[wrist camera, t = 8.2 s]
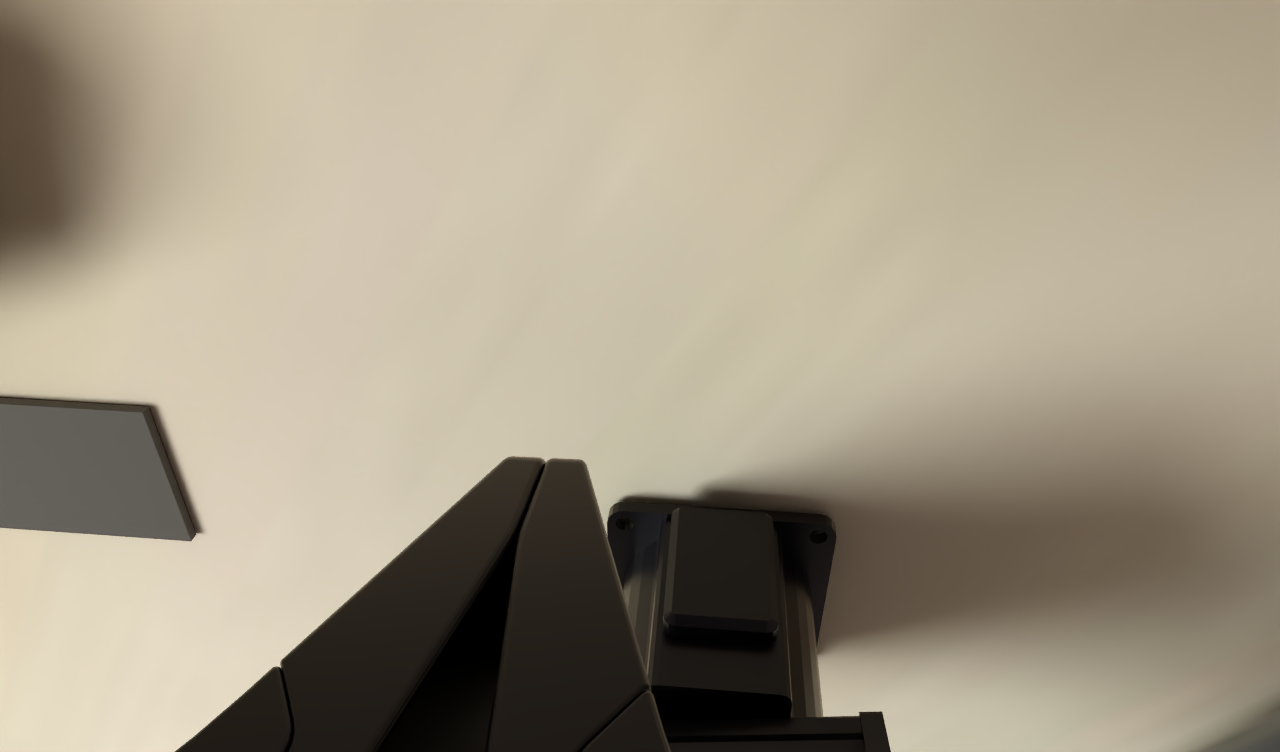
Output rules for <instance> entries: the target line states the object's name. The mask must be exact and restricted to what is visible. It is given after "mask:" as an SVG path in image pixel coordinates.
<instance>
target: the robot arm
mask: <svg viewBox="0 0 1280 752" xmlns="http://www.w3.org/2000/svg"><path fill="white" fill-rule="evenodd" d="M623 517H625V518H629V519H630V520H631V521H623V520H621V519H620V518H623ZM818 530H820V531H824V532H822V533H819V534H815V533H812V532H814V531H818ZM607 534H608V538H607ZM607 534H606V531H605V527H604V524H603V520H602V517H601V513H600V510H599V507H598V503H597V500H596V496H595V493H594V489H593V486H592V482H591V479H590V476H589V472H588V469H587V465H586V463H585V462H584V461H583V460H579V459H558V458H552V459H550V460H548V461H547V462H545V461H544V460H543V459H542V458H536V457H515V456H513V457H508V458H506V459H504V460H503V461H502V462H501V463H500V464H499V465H497V466H496V467H495V468H494V469H493V470H492V471H491V472H490V473H489V474H487V475H486V476H485V477H484V478H483V479H482V480H481V481H480V482H479V483H477V484H476V485H475V486H474V487H473V488H472V489H471V490H470V491H469V492H468V493H466V494H465V495H464V496H463V497H462V498H461V499H460V500H459V501H458V502H456V503H455V504H454V505H453V506H452V507H451V508H450V509H449V510H448V511H446V512H445V513H444V514H443V515H442V516H441V517H440V518H439V519H438V520H436V521H435V522H434V523H433V524H432V525H431V526H430V527H429V528H428V529H426V530H425V531H424V532H423V533H422V534H421V535H420V536H419V537H418V538H416V539H415V540H414V541H413V542H412V543H411V544H410V545H409V546H408V547H407V548H405V549H404V550H403V551H402V552H401V553H400V554H399V555H398V556H397V557H395V558H394V559H393V560H392V561H391V562H390V563H389V564H388V565H387V566H385V567H384V568H383V569H382V570H381V571H380V572H379V573H378V574H377V575H375V576H374V577H373V578H372V579H371V580H370V581H369V582H368V583H367V584H365V585H364V586H363V587H362V588H361V589H360V590H359V591H358V592H357V593H356V594H354V595H353V596H352V597H351V598H350V599H349V600H348V601H347V602H346V603H344V604H343V605H342V606H341V607H340V608H339V609H338V610H337V611H336V612H334V613H333V614H332V615H331V616H330V617H329V618H328V619H327V620H326V621H324V622H323V623H322V624H321V625H320V626H319V627H318V628H317V629H316V630H314V631H313V632H312V633H311V634H310V635H309V636H308V637H307V638H306V639H304V640H303V641H302V642H301V643H300V644H299V645H298V646H297V647H296V648H295V649H293V650H292V651H291V652H290V653H289V654H288V655H287V656H286V657H285V658H283V659H282V660H281V663H280V665H281V668H280V667H273V668H272V669H271V670H270V671H269V672H267V673H266V674H265V675H264V676H263V677H262V678H261V679H260V680H259V681H257V682H256V683H255V684H254V685H253V686H252V687H251V688H250V689H249V690H247V691H246V692H245V693H244V694H243V695H242V696H241V697H239V698H238V699H237V700H236V701H235V702H234V703H233V704H231V705H230V706H229V707H228V708H227V709H226V710H224V711H223V712H222V713H221V714H220V715H219V716H217V717H216V718H215V719H214V720H213V721H212V722H210V723H209V724H208V725H207V726H206V727H205V728H203V729H202V730H201V731H200V732H199V733H198V734H197V735H195V736H194V737H193V738H192V739H190V740H189V741H188V742H186V743H185V744H184V745H183V746H181V747H180V748H179V749H178V750H176V751H175V752H891V751H890V746H889V741H888V737H887V732H886V728H885V723H884V718H883V714H882V712H859V716H840V717H823V709H822V699H821V689H820V679H819V668H818V658H817V642H818V637H819V631H820V626H821V620H822V614H823V609H824V603H825V598H826V592H827V587H828V581H829V576H830V570H831V564H832V559H833V553H834V548H835V542H836V531H835V524H834V522H833V521H832V519H831V518H829V517H827V516H825V515H821V514H809V513H793V512H778V511H763V510H747V509H732V508H716V507H701V506H686V505H670V504H655V503H640V502H619V503H616V504H614V505H613V506H612V507H611V508H610V511H609V516H608V522H607Z"/></svg>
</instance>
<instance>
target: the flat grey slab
mask: <svg viewBox="0 0 1280 752" xmlns="http://www.w3.org/2000/svg"><path fill="white" fill-rule="evenodd" d="M0 528H12V529H26V530H40V531H55V532H69V533H83V534H97V535H111V536H125V537H139V538H153V539H168V540H182V541H192V539H193V538H194V537H195V535H196V533H195V530H194V528H193V525H192V522H191V520H190V517H189V514H188V512H187V509H186V506H185V503H184V501H183V498H182V495H181V493H180V490H179V487H178V485H177V482H176V479H175V477H174V474H173V471H172V469H171V466H170V463H169V461H168V458H167V455H166V453H165V450H164V447H163V445H162V442H161V439H160V437H159V434H158V431H157V429H156V426H155V423H154V420H153V418H152V415H151V412H150V410H149V407H148V406H132V405H115V404H98V403H82V402H65V401H48V400H32V399H15V398H0Z"/></svg>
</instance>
